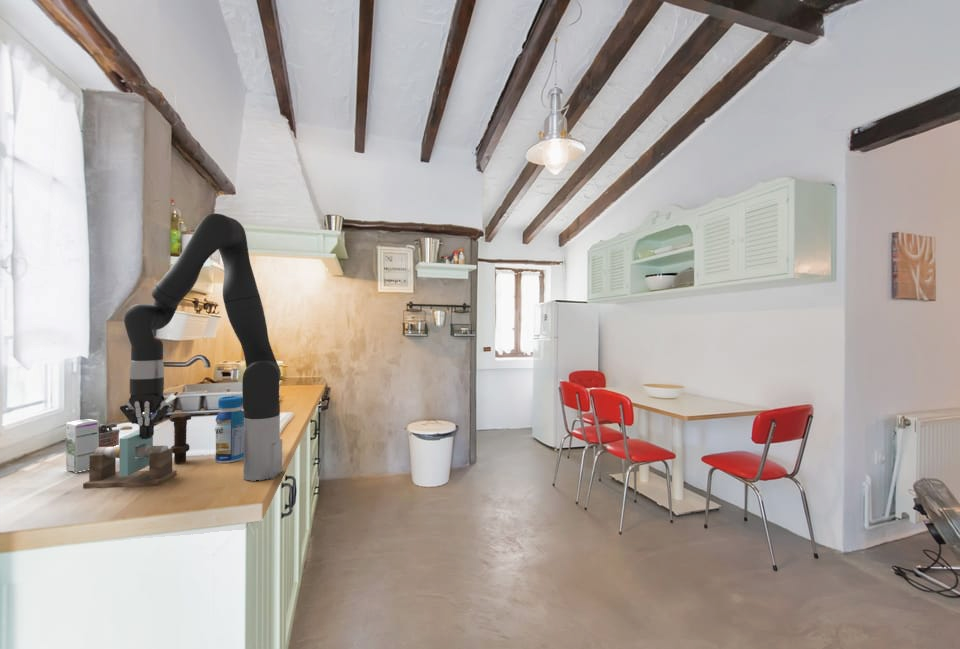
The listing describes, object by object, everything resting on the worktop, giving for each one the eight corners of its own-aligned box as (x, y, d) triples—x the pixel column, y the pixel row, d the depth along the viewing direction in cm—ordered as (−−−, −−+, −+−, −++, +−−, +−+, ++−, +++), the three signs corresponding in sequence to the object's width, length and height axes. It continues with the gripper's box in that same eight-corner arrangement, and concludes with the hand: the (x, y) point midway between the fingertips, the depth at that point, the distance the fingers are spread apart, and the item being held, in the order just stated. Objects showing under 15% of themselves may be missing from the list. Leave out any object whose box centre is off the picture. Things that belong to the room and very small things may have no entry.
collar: (152, 463, 122) (152, 429, 122) (127, 476, 112) (127, 438, 112) (145, 463, 122) (145, 429, 122) (119, 476, 112) (119, 438, 112)
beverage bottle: (246, 460, 134) (246, 398, 134) (214, 465, 130) (215, 400, 130) (244, 454, 141) (244, 394, 141) (214, 458, 137) (215, 396, 137)
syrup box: (99, 467, 127) (100, 419, 127) (74, 474, 122) (74, 424, 122) (90, 465, 129) (90, 418, 129) (64, 471, 124) (65, 422, 124)
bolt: (178, 466, 129) (178, 417, 129) (164, 465, 130) (165, 416, 130) (194, 460, 134) (195, 413, 135) (181, 459, 136) (182, 412, 136)
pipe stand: (176, 474, 122) (176, 440, 122) (156, 485, 113) (156, 450, 113) (109, 475, 120) (109, 442, 120) (83, 488, 111) (83, 451, 111)
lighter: (89, 458, 136) (89, 427, 136) (86, 456, 137) (86, 426, 137) (121, 452, 142) (121, 422, 143) (117, 450, 144) (117, 421, 144)
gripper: (180, 374, 122) (180, 434, 122) (131, 374, 120) (130, 435, 120) (164, 377, 114) (163, 441, 114) (111, 378, 113) (110, 442, 113)
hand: (146, 438), depth 117 cm, fingers closed
